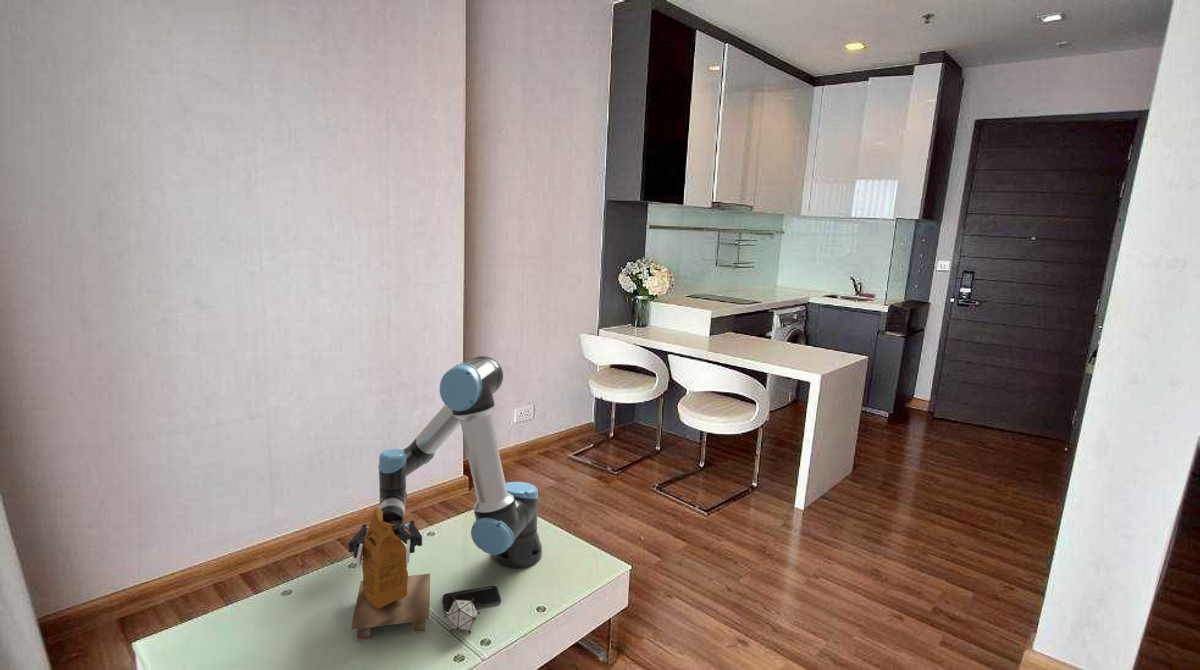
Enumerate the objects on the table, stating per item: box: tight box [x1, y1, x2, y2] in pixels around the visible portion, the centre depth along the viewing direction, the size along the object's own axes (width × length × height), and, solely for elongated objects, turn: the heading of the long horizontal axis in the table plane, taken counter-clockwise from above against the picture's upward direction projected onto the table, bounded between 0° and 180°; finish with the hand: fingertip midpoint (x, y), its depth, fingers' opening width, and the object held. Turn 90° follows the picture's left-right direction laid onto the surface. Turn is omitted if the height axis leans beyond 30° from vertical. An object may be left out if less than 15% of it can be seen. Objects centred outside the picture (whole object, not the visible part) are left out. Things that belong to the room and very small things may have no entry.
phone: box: [442, 585, 502, 612], centre depth 159 cm, size 8×1×15 cm
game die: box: [442, 597, 481, 634], centre depth 147 cm, size 9×8×10 cm
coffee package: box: [361, 508, 409, 609], centre depth 149 cm, size 10×12×22 cm
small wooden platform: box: [350, 573, 431, 641], centre depth 152 cm, size 18×18×5 cm
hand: (383, 560), depth 145 cm, fingers closed on coffee package, 11 cm apart
